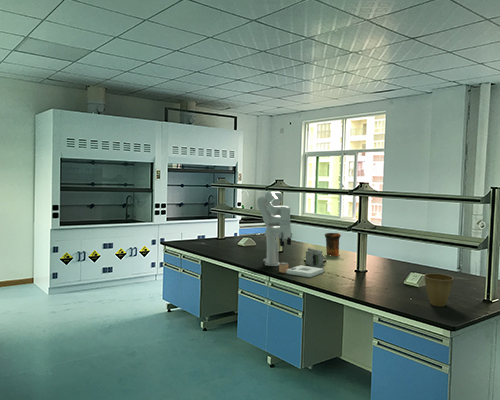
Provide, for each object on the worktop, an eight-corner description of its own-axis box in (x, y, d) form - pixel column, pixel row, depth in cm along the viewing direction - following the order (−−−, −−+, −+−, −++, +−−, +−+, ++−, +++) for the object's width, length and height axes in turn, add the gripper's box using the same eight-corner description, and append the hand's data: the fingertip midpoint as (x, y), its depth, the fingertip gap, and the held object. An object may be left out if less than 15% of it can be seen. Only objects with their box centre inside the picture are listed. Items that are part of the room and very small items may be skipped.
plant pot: (418, 303, 239) (418, 275, 238) (434, 299, 247) (435, 272, 246) (441, 310, 226) (442, 281, 225) (458, 306, 234) (459, 277, 233)
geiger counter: (304, 247, 347) (323, 252, 325) (310, 246, 350) (329, 251, 327) (304, 264, 348) (323, 270, 325) (310, 263, 350) (329, 269, 328)
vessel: (334, 257, 376) (334, 234, 375) (321, 255, 387) (321, 233, 386) (344, 255, 385) (343, 233, 385) (331, 253, 396) (331, 232, 396)
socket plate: (286, 273, 313) (286, 268, 313) (300, 269, 328) (300, 264, 328) (309, 277, 300) (309, 272, 300) (323, 272, 316) (323, 267, 316)
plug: (279, 272, 319) (279, 263, 318) (283, 270, 323) (283, 262, 322) (284, 272, 316) (284, 264, 315) (288, 271, 320) (288, 263, 319)
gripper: (287, 221, 327) (287, 243, 327) (274, 223, 313) (275, 246, 314) (295, 222, 322) (295, 244, 323) (283, 223, 309) (283, 247, 309)
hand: (285, 245), depth 318 cm, fingers open, 9 cm apart
